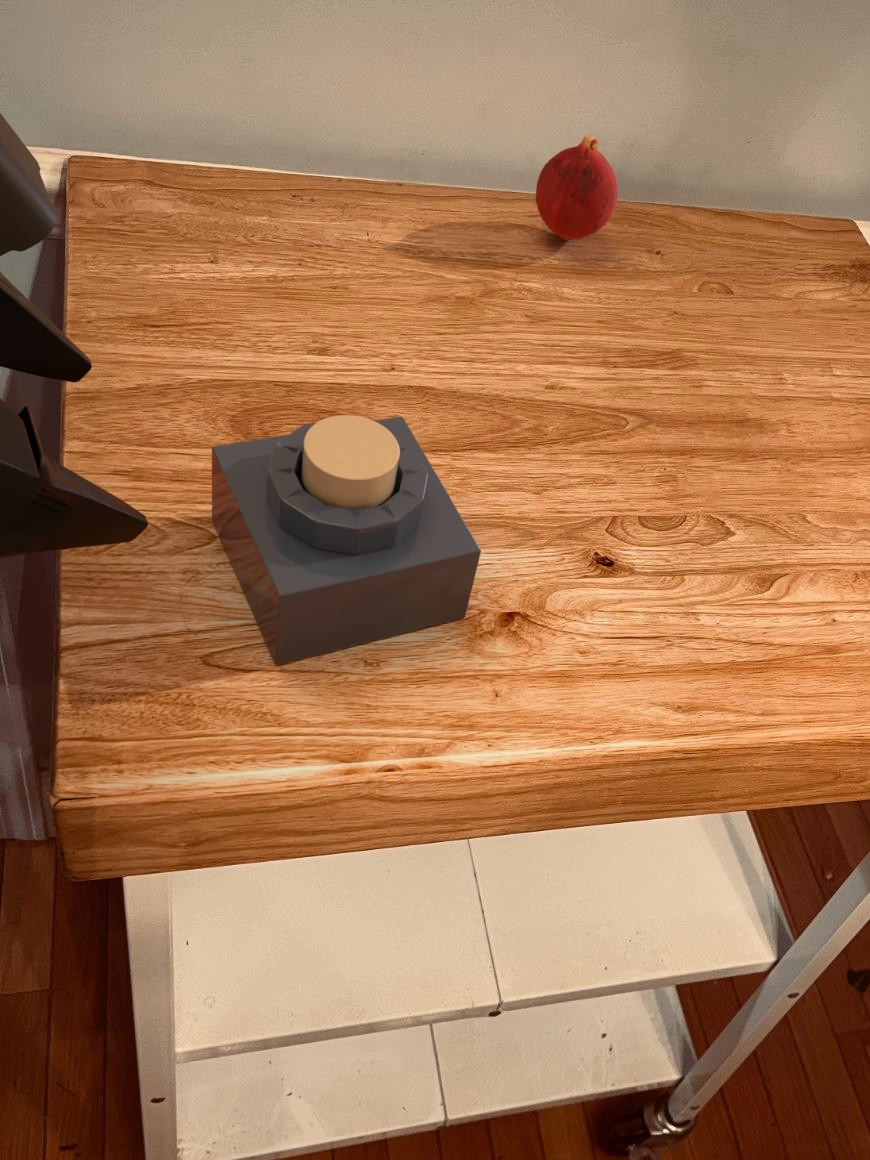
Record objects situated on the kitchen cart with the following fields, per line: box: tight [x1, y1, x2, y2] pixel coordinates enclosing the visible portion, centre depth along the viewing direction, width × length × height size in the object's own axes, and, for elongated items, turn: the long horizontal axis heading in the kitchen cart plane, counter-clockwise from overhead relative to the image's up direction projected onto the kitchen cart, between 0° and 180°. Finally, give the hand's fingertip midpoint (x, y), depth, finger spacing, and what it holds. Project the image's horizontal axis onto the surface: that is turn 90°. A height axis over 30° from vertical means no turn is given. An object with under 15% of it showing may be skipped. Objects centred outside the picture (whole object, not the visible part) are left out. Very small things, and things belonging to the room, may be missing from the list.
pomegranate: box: [534, 134, 618, 242], centre depth 84 cm, size 6×6×8 cm
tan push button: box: [301, 414, 400, 510], centre depth 56 cm, size 4×4×2 cm
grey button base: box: [211, 416, 482, 666], centre depth 59 cm, size 10×10×7 cm
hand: (111, 447), depth 46 cm, fingers open, 9 cm apart
